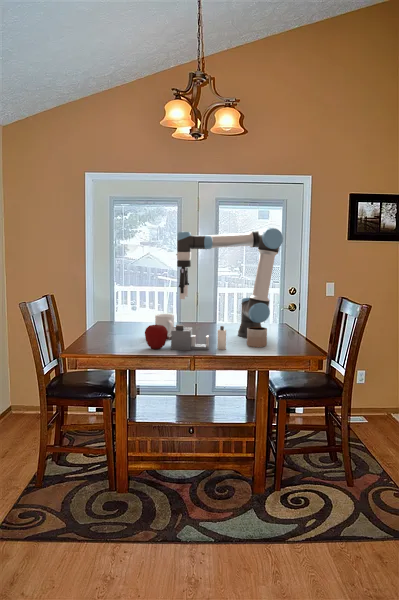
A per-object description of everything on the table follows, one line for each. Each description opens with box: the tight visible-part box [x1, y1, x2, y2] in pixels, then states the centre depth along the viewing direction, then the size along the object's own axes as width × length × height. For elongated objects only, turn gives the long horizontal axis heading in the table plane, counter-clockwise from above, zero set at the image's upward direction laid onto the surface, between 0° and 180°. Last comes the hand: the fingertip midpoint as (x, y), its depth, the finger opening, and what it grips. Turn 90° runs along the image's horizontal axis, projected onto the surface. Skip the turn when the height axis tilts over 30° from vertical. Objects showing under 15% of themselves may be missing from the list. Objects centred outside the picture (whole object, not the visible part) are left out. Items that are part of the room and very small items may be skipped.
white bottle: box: [217, 325, 227, 351], centre depth 250 cm, size 4×4×12 cm
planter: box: [246, 326, 268, 348], centre depth 260 cm, size 11×11×10 cm
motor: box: [166, 324, 210, 351], centre depth 251 cm, size 22×12×12 cm, turn 87°
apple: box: [144, 324, 168, 350], centre depth 248 cm, size 12×12×13 cm
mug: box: [154, 313, 175, 336], centre depth 278 cm, size 15×11×13 cm
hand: (183, 297), depth 268 cm, fingers open, 13 cm apart
